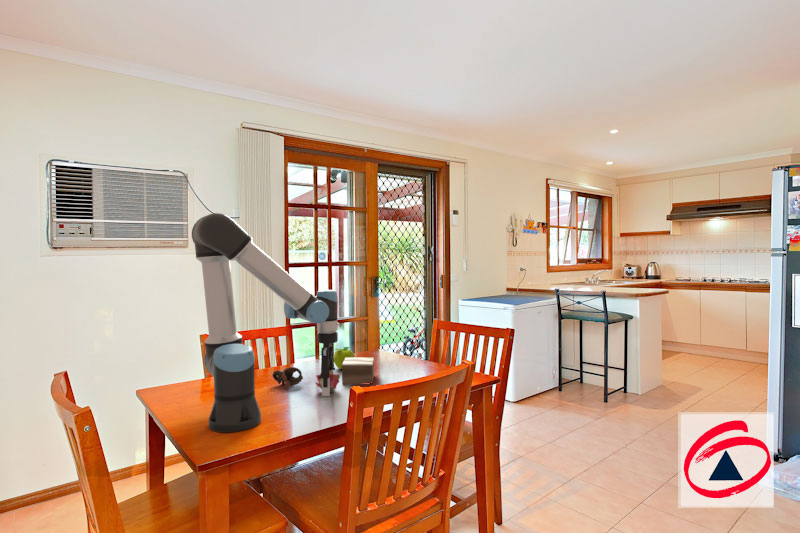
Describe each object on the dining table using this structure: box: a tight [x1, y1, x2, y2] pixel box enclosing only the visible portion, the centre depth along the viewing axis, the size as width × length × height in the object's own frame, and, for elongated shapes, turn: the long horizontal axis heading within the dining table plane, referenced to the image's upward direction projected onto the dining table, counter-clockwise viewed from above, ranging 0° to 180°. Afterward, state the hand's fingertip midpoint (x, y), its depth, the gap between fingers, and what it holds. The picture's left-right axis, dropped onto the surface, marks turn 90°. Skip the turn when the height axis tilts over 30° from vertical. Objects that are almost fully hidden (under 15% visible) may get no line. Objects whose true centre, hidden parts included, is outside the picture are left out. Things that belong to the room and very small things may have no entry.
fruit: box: [333, 346, 356, 370], centre depth 203 cm, size 9×9×10 cm
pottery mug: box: [272, 366, 304, 390], centre depth 178 cm, size 12×10×8 cm
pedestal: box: [341, 356, 375, 386], centre depth 185 cm, size 12×12×8 cm
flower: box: [315, 371, 341, 393], centre depth 169 cm, size 10×9×8 cm
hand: (327, 391), depth 169 cm, fingers closed on flower, 9 cm apart
